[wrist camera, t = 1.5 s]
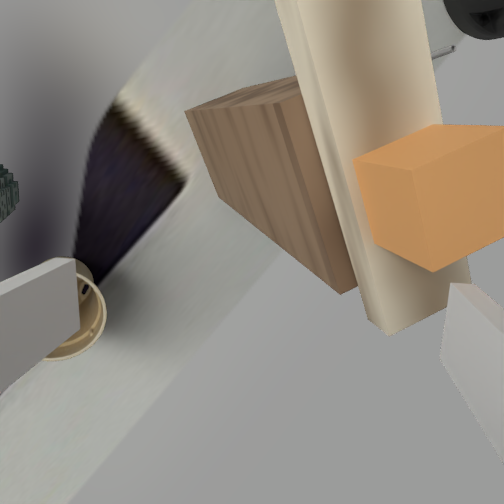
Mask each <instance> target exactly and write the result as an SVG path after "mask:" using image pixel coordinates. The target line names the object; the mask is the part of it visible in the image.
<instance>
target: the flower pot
mask: <svg viewBox="0 0 504 504" xmlns="http://www.w3.org/2000/svg"><path fill="white" fill-rule="evenodd" d="M54 258H70V259H74V258H71V257H62V256H61V257H54ZM54 258H51V259H54ZM51 259H48V260H46V261H45V262H47V261H49V260H51ZM45 262H43V263H45ZM75 263H76V276H77V290H78V303H79V317H80V329H79V330H78V331H77V332H76V333H74V334H73V335H72V336H71V337H70V338H68V339H67V340H66V341H65V342H63V343H62V344H61V345H60V346H58V347H57V348H56V349H55V350H53V351H52V352H51V353H50V354H48V355H47V356H46V357H45V358H44V359H42V360H41V361H60V360H66V359H69V358H72V357H75V356H77V355H79V354H81V353H83V352H84V351H86V350H88V349H89V348H90V347H91V346H92V345H93V344H95V342H96V341H97V340H98V339H99V337H100V336H101V334H102V332H103V330H104V328H105V324H106V320H107V307H106V303H105V300H104V297H103V295H102V293H101V291H100V290H99V289H98V287H97V286H96V285H95V284H94V281H93V276H92V274H91V272H90V270H89V269H88V268H87V266H86V265H85V264H83V263H82V262H80V261H79V260H77V259H75ZM41 264H42V263H41ZM85 284H87V285H88V286H89V288H88V290H87V291H86V293H85V294H82V290H83V288H84V285H85Z"/></svg>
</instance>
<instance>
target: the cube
mask: <svg viewBox="0 0 504 504" xmlns="http://www.w3.org/2000/svg"><path fill="white" fill-rule="evenodd" d="M352 161H353V165H354V169H355V172H356V176H357V180H358V184H359V187H360V191H361V195H362V199H363V202H364V206H365V210H366V214H367V217H368V221H369V225H370V229H371V232H372V236H373V240H374V244H376V245H378V246H380V247H382V248H384V249H386V250H388V251H390V252H392V253H394V254H397V255H399V256H401V257H403V258H405V259H407V260H409V261H411V262H413V263H415V264H417V265H419V266H421V267H423V268H425V269H427V270H429V271H431V272H435V271H437V270H439V269H441V268H443V267H445V266H447V265H449V264H451V263H453V262H455V261H457V260H459V259H461V258H463V257H465V256H467V255H469V254H471V253H473V252H475V251H477V250H479V249H481V248H483V247H485V246H487V245H489V244H491V243H493V242H495V241H497V240H499V239H501V238H503V237H504V126H486V125H442V124H432V125H430V126H428V127H425V128H423V129H421V130H419V131H416V132H414V133H412V134H410V135H407V136H405V137H403V138H400V139H398V140H396V141H394V142H391V143H389V144H387V145H385V146H382V147H380V148H378V149H375V150H373V151H371V152H369V153H366V154H364V155H362V156H360V157H357V158H355V159H353V160H352Z"/></svg>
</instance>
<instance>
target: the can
mask: <svg viewBox="0 0 504 504" xmlns="http://www.w3.org/2000/svg"><path fill="white" fill-rule="evenodd" d="M18 202H19V191H18V182H17V181H13V173H8V169H3V165H2V164H0V223H1V222H2V221H3V220H4V219H5V218H6V217H7V216H8V215H10V214H11V213H12V212H13V211H14V210H15V204H17V203H18Z"/></svg>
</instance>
